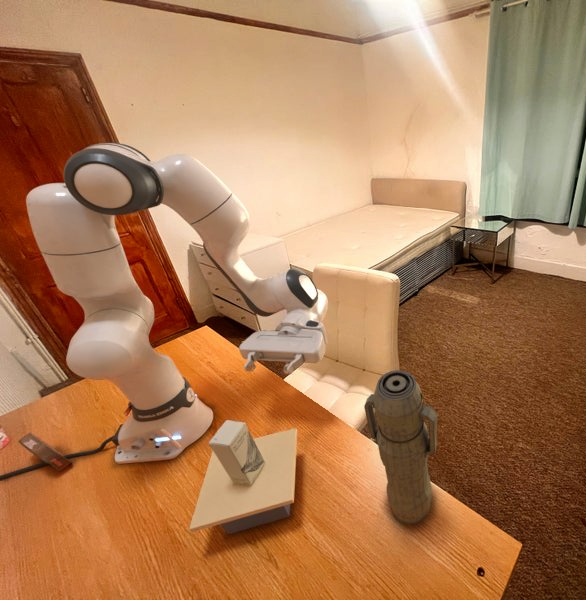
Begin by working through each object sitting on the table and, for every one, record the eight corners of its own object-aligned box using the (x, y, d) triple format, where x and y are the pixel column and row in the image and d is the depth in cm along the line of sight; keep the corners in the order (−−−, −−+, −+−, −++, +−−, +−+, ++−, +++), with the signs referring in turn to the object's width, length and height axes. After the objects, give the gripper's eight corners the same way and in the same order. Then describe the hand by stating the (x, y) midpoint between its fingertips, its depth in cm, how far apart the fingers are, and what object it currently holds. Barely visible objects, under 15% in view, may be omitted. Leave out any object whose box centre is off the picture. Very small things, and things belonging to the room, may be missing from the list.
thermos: (437, 530, 60) (433, 411, 41) (378, 519, 62) (349, 402, 44) (440, 483, 67) (438, 364, 49) (388, 475, 69) (367, 359, 51)
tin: (77, 466, 77) (55, 446, 73) (62, 478, 75) (37, 458, 71) (50, 445, 83) (28, 425, 79) (34, 456, 81) (11, 436, 77)
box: (251, 486, 60) (227, 447, 54) (232, 483, 61) (206, 444, 55) (266, 460, 65) (245, 421, 58) (248, 457, 66) (225, 418, 59)
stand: (209, 551, 60) (188, 529, 55) (228, 471, 73) (213, 448, 68) (304, 522, 63) (292, 499, 58) (305, 451, 76) (296, 427, 71)
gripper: (254, 320, 79) (219, 357, 68) (329, 323, 76) (306, 362, 64) (261, 340, 83) (229, 378, 71) (333, 343, 79) (312, 383, 68)
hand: (266, 370), depth 68 cm, fingers open, 8 cm apart
